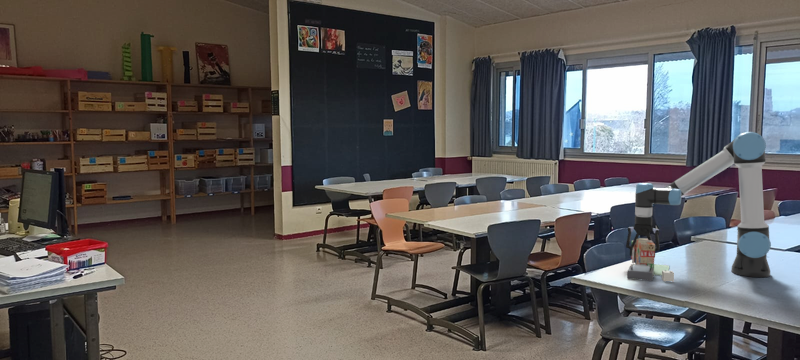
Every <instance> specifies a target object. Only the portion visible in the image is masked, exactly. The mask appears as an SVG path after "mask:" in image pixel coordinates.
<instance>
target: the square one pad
mask: <svg viewBox="0 0 800 360" xmlns="http://www.w3.org/2000/svg"><path fill="white" fill-rule="evenodd" d="M669 266H670V265H666V264H655V263H654V276H660V275H661V277H662V270H666V271H670V267H669Z"/></svg>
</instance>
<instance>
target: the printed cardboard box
mask: <svg viewBox="0 0 800 360" xmlns="http://www.w3.org/2000/svg"><path fill="white" fill-rule="evenodd" d="M652 241H653V240H652ZM652 241H651V240H648V238H641V237H640V238H639V237H638V238H637V239H636V243H635V245H634V247H633V249H635V254H634V263H633V264H634V265H635V264H640V265H647V266H649V267H650V268H654V264H655V258H656V251H655V248H656V243H654V241H653V242H652ZM632 242H633V240H631V241H630V243H631V245H632ZM631 245H630V246H631ZM630 257H631V260H632V256H630ZM654 257H655V258H654Z"/></svg>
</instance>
